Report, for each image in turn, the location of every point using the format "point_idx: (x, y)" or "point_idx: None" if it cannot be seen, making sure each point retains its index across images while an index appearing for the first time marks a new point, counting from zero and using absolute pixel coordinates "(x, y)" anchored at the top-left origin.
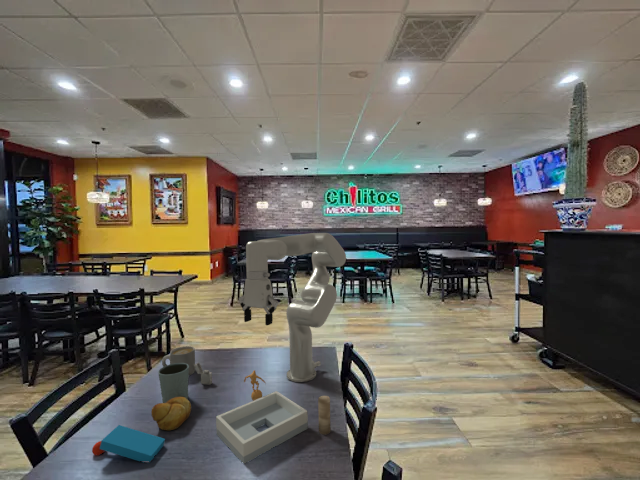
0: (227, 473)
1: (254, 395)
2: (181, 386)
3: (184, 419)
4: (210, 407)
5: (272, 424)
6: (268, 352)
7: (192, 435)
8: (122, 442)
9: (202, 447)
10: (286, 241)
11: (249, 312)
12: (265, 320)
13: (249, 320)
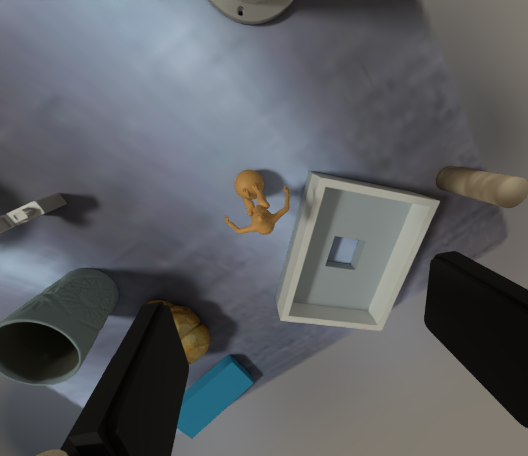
0: (357, 328)
1: (254, 198)
2: (100, 318)
3: (207, 329)
4: (184, 261)
5: (359, 239)
6: None
7: (243, 321)
8: (209, 414)
9: (284, 324)
10: None
11: (145, 420)
12: (459, 359)
13: (176, 328)
